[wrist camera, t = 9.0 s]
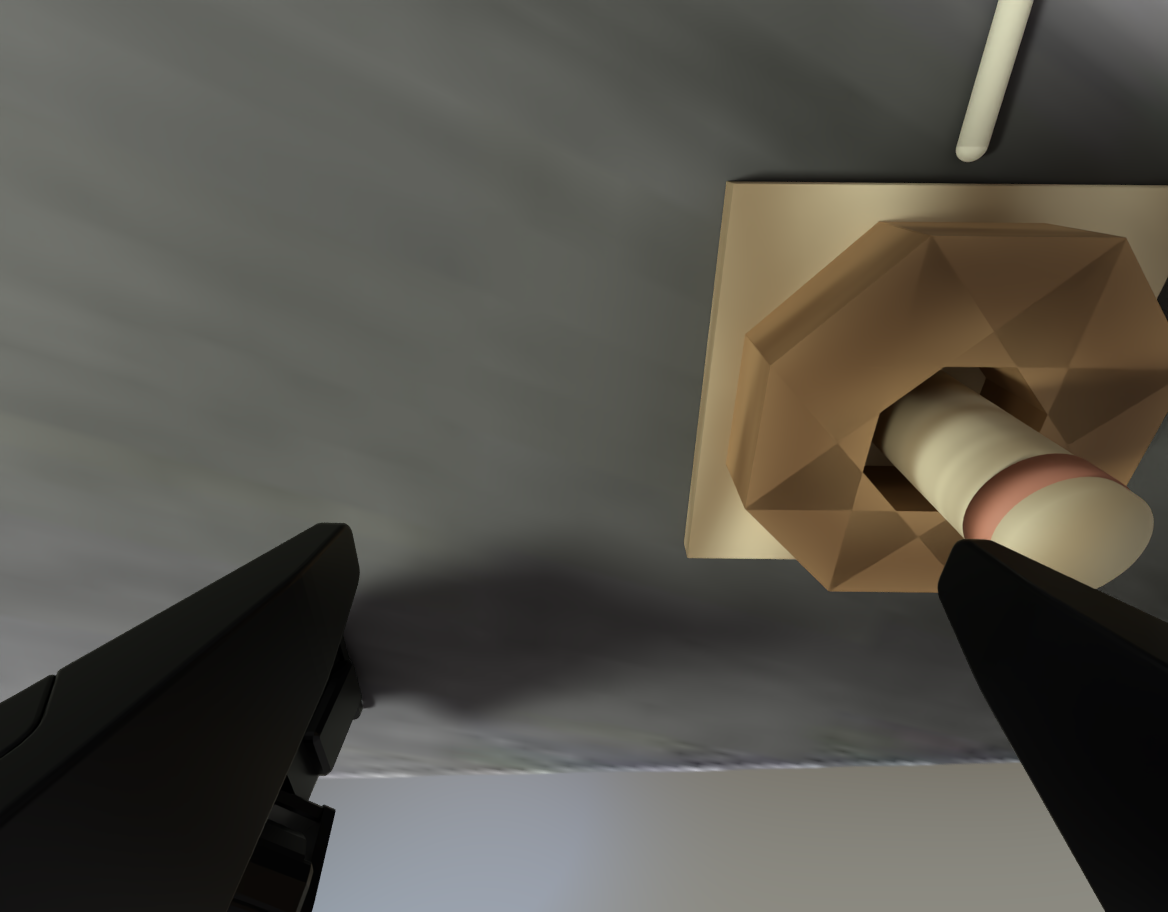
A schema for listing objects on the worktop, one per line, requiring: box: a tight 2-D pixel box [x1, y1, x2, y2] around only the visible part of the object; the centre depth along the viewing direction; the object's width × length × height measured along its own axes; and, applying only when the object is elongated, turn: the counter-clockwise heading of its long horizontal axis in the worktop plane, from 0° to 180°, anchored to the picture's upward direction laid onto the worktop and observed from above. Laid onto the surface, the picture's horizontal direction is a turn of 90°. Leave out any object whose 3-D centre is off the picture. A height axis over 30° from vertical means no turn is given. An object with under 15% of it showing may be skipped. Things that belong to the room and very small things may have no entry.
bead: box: [726, 221, 1168, 593], centre depth 19 cm, size 12×12×3 cm
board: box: [684, 181, 1168, 559], centre depth 20 cm, size 14×14×1 cm
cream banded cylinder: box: [871, 370, 1154, 589], centre depth 16 cm, size 3×3×8 cm
